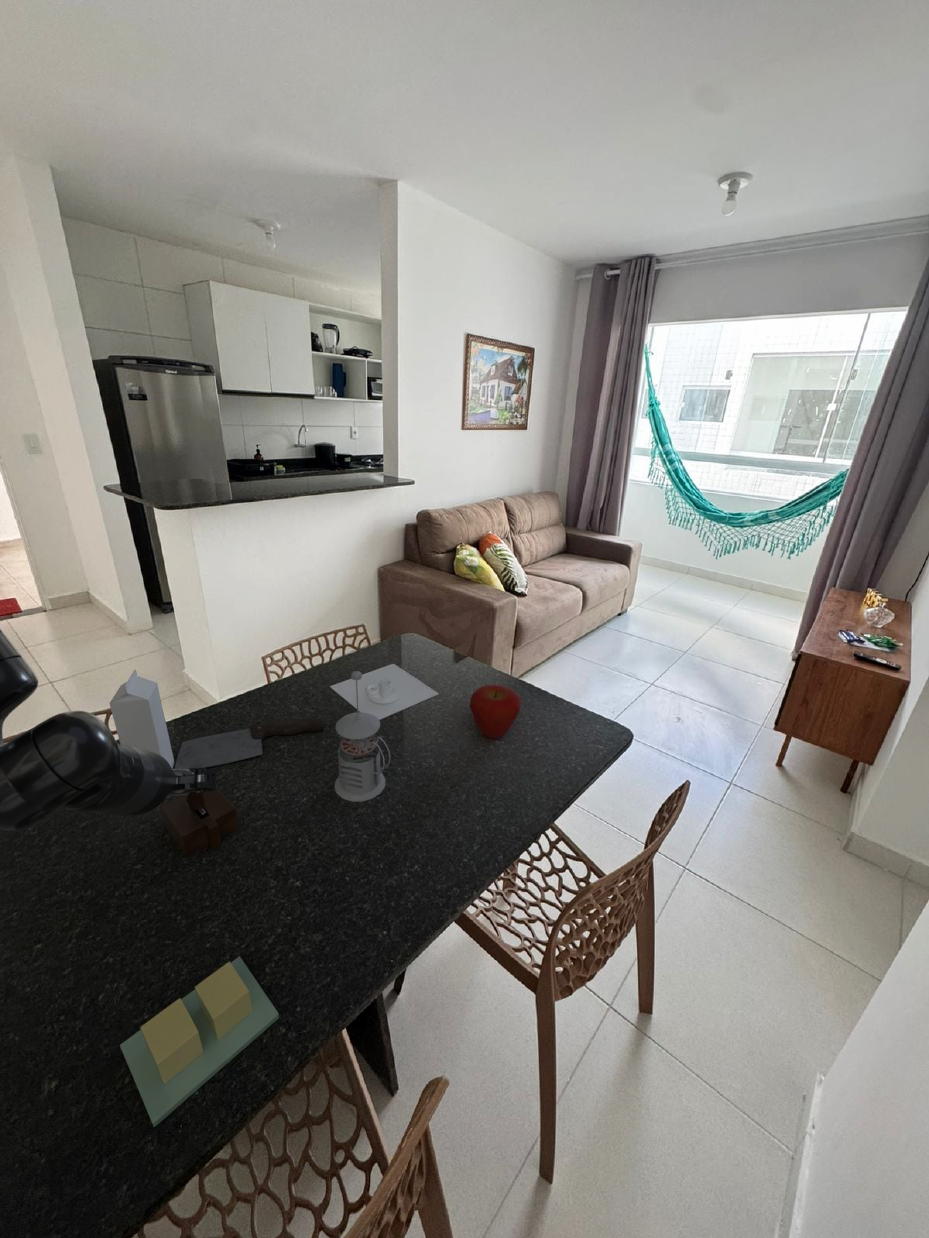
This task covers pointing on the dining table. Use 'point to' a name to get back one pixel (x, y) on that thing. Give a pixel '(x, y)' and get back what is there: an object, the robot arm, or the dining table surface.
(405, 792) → the dining table surface
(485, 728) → the apple
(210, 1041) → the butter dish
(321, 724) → the cleaver
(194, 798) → the wood-handled utensil
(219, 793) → the knife block
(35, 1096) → the dining table surface
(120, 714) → the milk
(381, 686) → the teacup and saucer
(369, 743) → the french press
